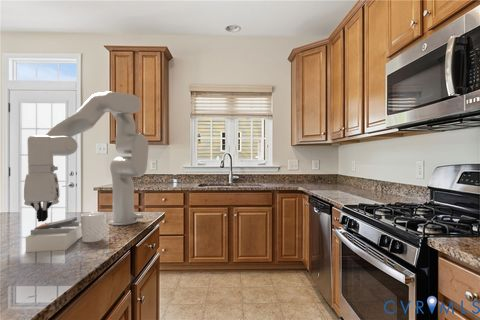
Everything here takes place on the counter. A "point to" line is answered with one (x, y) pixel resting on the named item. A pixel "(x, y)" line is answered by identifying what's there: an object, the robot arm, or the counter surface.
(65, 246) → the breaker panel
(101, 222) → the white cup
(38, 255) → the counter surface
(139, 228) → the counter surface
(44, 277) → the counter surface
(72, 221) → the breaker rocker
